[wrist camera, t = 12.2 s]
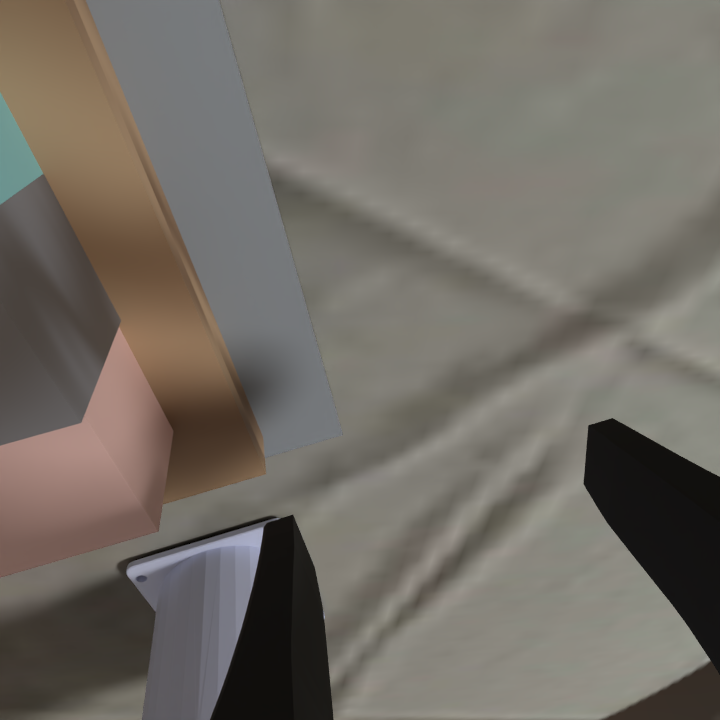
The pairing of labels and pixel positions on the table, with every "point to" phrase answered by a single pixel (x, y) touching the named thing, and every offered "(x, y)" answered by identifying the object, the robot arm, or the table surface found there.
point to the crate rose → (87, 473)
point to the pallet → (103, 261)
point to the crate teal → (14, 156)
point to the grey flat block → (222, 204)
